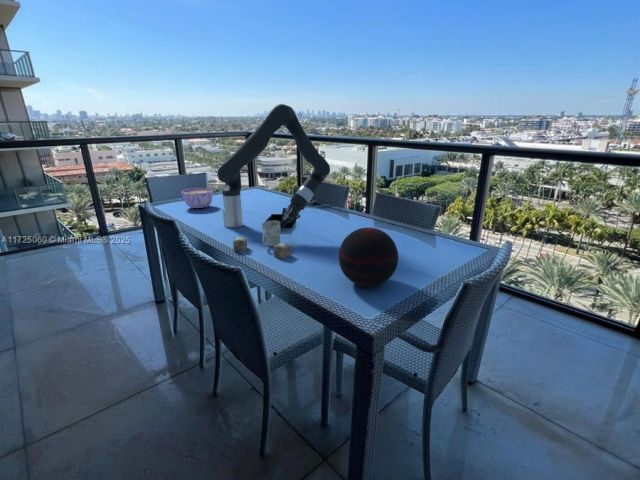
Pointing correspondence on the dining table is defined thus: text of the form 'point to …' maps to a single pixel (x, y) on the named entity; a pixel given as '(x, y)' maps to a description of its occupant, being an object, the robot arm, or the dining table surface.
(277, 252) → the walnut block right
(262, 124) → the robot arm
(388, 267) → the decorative orb
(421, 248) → the dining table surface
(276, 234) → the mug
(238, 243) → the walnut block left
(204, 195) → the bowl of food
